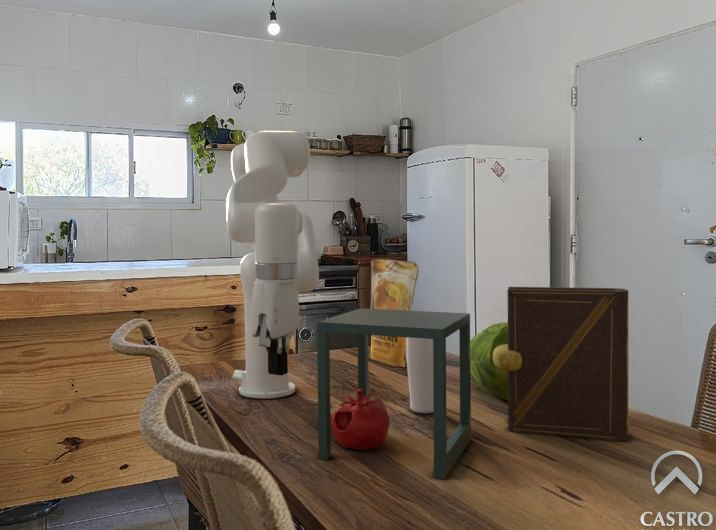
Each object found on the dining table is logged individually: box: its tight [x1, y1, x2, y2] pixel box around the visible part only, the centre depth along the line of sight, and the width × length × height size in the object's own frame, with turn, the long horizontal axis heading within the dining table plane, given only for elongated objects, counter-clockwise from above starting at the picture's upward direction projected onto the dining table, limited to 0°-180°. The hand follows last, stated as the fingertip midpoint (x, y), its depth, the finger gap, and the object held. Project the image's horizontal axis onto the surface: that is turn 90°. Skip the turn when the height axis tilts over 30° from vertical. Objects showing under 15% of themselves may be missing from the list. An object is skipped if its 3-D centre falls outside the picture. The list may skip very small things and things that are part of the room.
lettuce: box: [470, 321, 508, 402], centre depth 129 cm, size 17×23×16 cm
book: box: [493, 286, 629, 442], centre depth 105 cm, size 22×8×25 cm, turn 71°
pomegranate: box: [330, 389, 391, 451], centre depth 100 cm, size 10×10×9 cm
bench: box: [316, 307, 472, 480], centre depth 97 cm, size 20×18×22 cm
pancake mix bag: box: [369, 258, 419, 368], centre depth 163 cm, size 7×19×28 cm, turn 28°
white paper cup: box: [405, 337, 434, 414], centre depth 118 cm, size 7×7×15 cm
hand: (277, 373), depth 108 cm, fingers closed
